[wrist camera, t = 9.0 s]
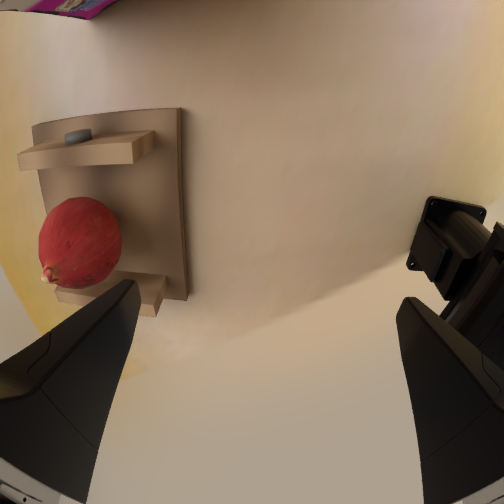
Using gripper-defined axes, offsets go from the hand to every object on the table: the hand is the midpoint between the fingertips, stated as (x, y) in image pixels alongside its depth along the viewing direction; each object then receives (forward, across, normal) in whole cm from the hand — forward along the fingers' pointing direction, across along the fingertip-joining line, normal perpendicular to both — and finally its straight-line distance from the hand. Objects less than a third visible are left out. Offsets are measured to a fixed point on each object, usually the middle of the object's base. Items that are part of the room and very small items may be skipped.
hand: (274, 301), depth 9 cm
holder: (+12, +12, +3) cm, 17 cm away
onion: (+11, +12, +3) cm, 17 cm away
